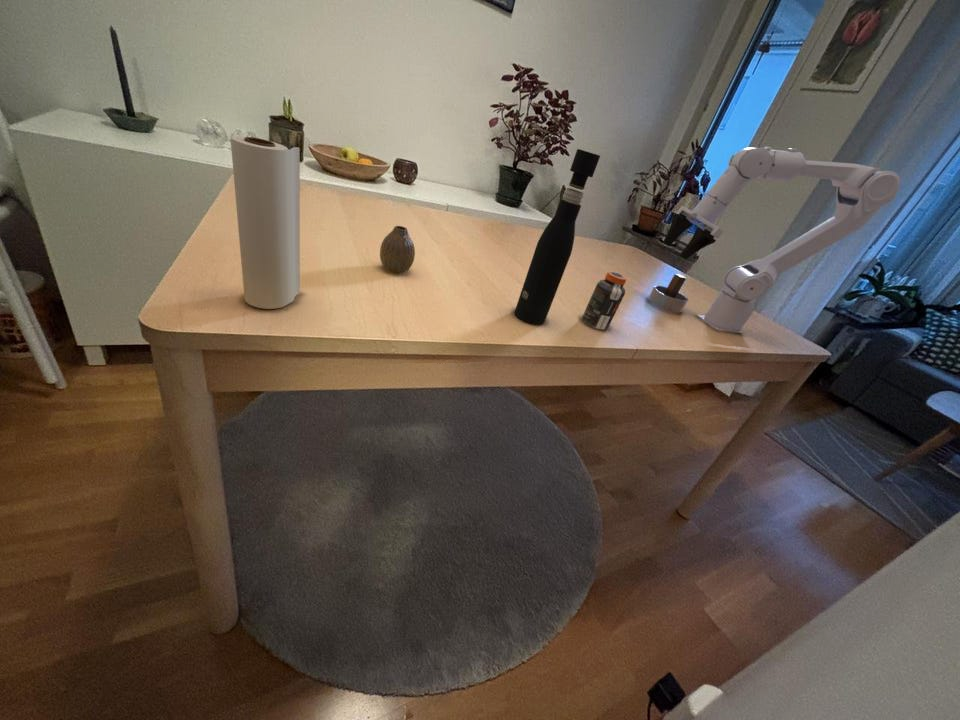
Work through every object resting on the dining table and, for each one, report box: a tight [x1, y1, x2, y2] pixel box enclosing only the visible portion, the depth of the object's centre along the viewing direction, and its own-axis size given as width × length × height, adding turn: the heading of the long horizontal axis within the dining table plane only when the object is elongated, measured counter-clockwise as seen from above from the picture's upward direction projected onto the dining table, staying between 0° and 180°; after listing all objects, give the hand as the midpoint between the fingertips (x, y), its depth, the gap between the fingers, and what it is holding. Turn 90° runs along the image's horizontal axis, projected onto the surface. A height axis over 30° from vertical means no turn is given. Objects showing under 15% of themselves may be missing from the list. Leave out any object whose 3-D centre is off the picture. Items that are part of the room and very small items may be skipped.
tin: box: [647, 285, 689, 314], centre depth 105 cm, size 9×9×4 cm
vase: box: [379, 225, 416, 275], centre depth 76 cm, size 7×7×9 cm
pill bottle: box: [581, 270, 628, 330], centre depth 79 cm, size 6×6×11 cm
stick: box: [664, 273, 687, 298], centre depth 103 cm, size 2×2×8 cm
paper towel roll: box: [229, 135, 301, 310], centre depth 51 cm, size 7×6×21 cm
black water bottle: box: [514, 148, 601, 326], centre depth 68 cm, size 6×6×30 cm
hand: (674, 250), depth 96 cm, fingers open, 7 cm apart
